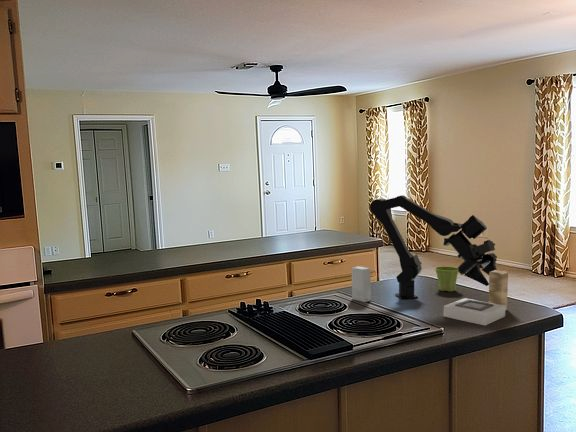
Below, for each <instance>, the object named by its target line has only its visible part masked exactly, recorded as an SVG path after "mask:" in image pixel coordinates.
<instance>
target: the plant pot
mask: <svg viewBox="0 0 576 432" xmlns="http://www.w3.org/2000/svg"><path fill="white" fill-rule="evenodd" d="M434 270H435V273H436V275H437V276H436V277H437V284H438V290H439V291H442V292H446V291H447V292H455V290H456V286H457V279H458V274H459V272H458V267H456V266H445V265H444V266H443V265H442V266H435V267H434Z"/></svg>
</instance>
